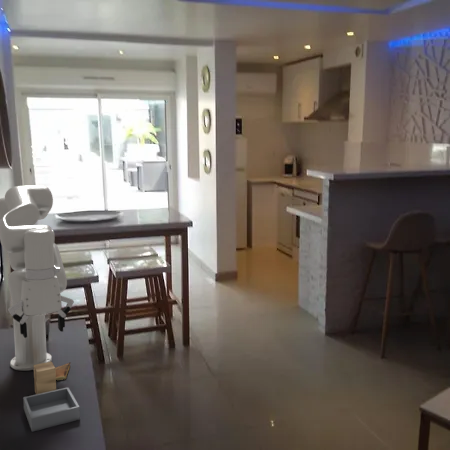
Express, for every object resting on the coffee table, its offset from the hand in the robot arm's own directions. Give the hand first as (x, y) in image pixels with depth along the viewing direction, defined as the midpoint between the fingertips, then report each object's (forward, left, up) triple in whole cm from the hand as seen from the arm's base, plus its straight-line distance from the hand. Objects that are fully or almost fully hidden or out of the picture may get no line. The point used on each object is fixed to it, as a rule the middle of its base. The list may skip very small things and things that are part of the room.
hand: (43, 333), depth 140 cm
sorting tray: (+13, -1, -18) cm, 22 cm away
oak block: (0, 0, -18) cm, 18 cm away
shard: (-11, +5, -19) cm, 23 cm away
